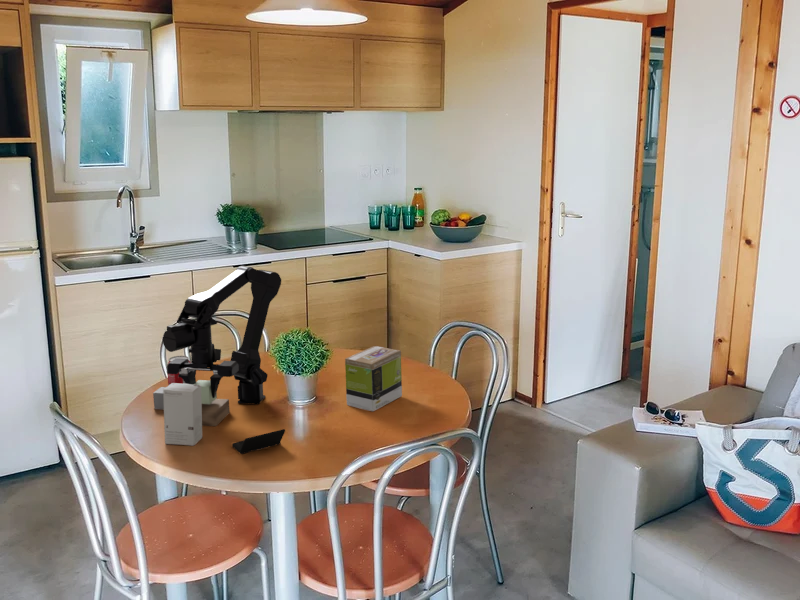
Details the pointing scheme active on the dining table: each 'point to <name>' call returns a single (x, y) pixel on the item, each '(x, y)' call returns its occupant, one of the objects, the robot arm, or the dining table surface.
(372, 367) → the tea box
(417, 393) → the dining table surface
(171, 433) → the skincare box
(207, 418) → the walnut slab
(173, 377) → the soda can
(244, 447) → the black angled piece
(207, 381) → the sage block
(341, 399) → the dining table surface
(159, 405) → the grey block
